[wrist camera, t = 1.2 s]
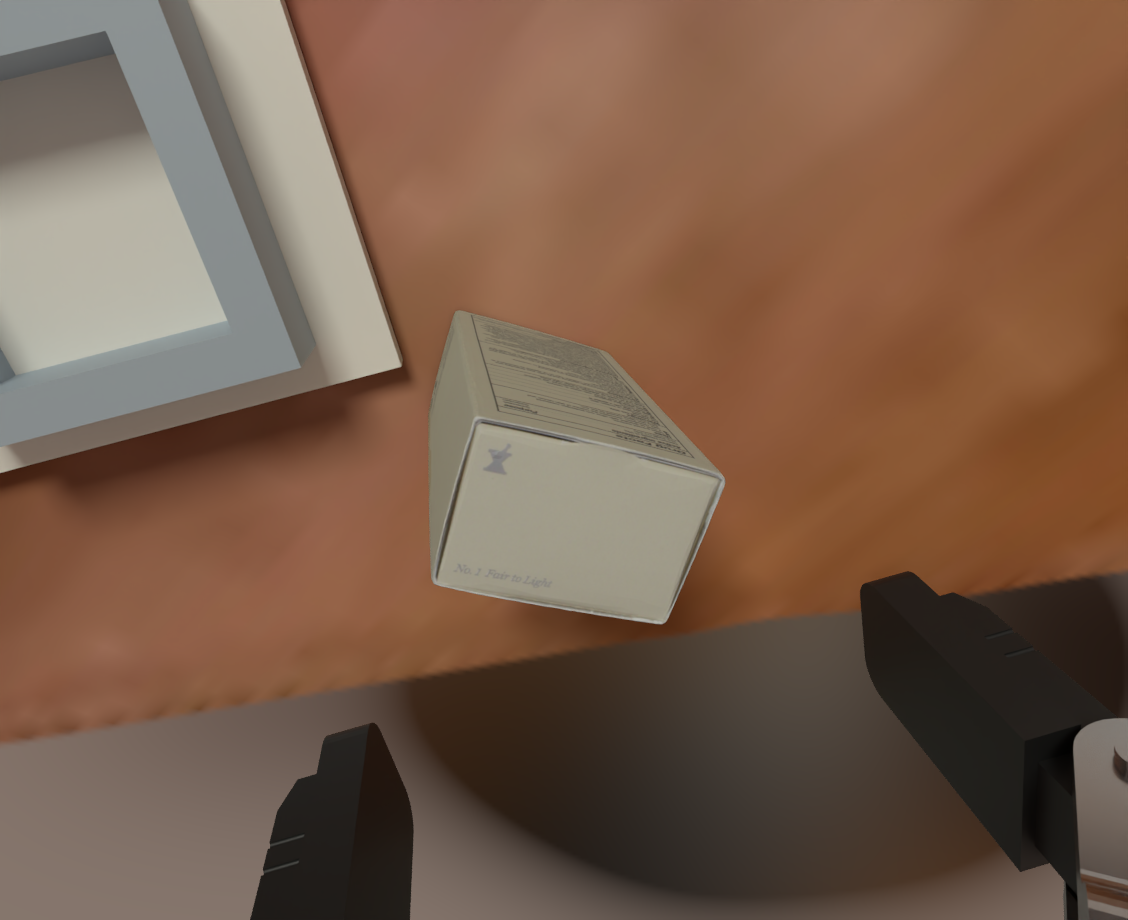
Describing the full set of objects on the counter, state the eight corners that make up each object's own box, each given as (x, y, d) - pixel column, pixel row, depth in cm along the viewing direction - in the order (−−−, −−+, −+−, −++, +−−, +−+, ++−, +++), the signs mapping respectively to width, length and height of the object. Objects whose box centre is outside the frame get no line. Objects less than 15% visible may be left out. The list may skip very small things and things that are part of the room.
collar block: (251, -100, 22) (213, -150, 18) (402, 359, 27) (396, 392, 24) (-314, 33, 21) (-475, 8, 17) (-39, 476, 27) (-116, 528, 23)
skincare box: (425, 415, 28) (414, 589, 17) (456, 301, 27) (464, 410, 16) (583, 454, 30) (665, 636, 19) (619, 347, 28) (733, 477, 17)
